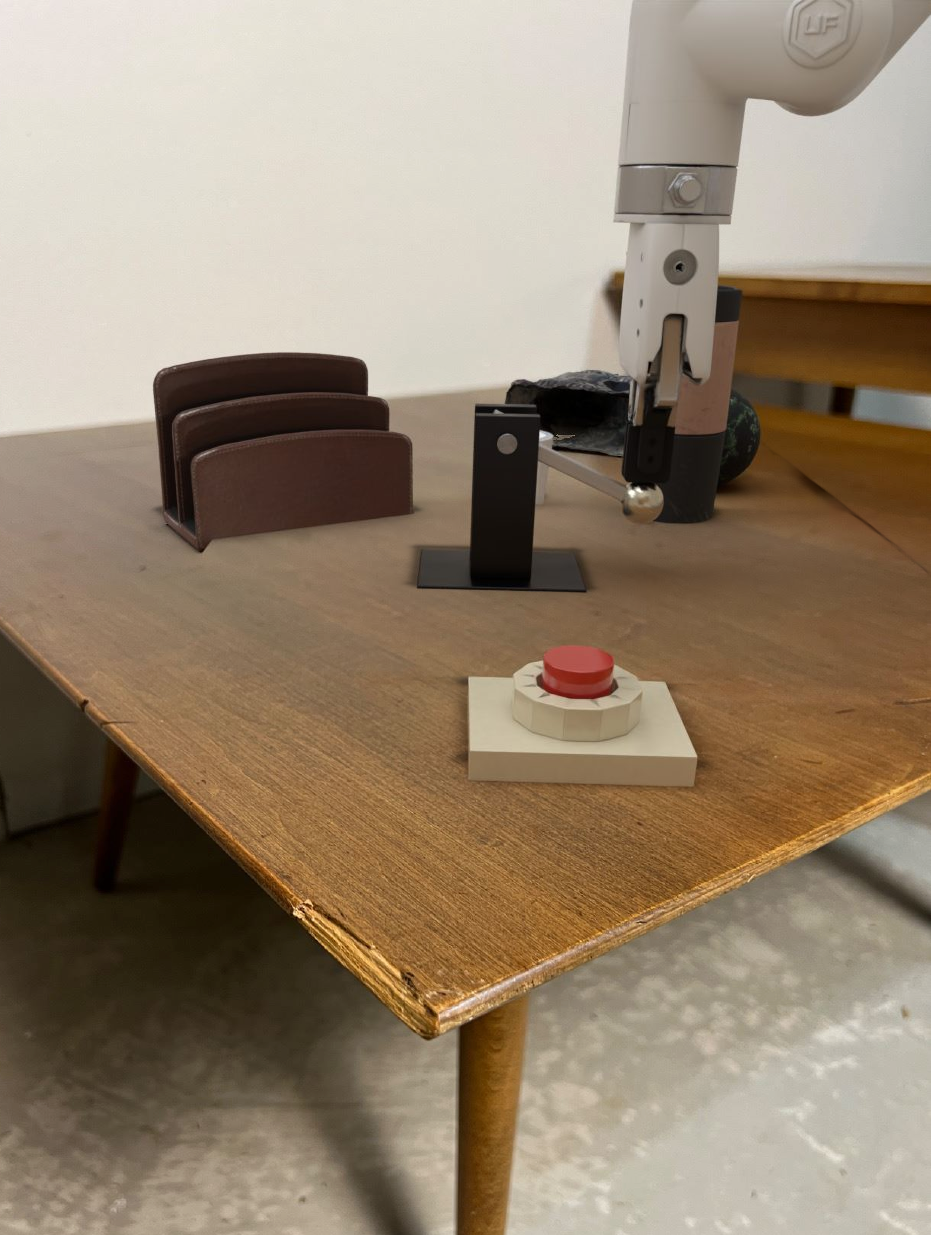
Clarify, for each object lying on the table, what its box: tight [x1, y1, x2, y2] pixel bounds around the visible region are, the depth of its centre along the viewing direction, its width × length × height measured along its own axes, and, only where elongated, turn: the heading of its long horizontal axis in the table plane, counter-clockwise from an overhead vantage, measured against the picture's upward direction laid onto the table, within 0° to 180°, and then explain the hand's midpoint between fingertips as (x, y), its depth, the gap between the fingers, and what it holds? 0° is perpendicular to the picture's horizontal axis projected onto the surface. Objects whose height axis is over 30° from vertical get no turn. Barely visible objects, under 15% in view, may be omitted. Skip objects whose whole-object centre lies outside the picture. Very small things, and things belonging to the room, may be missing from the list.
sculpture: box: [504, 369, 633, 457], centre depth 135 cm, size 8×16×30 cm
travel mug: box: [652, 284, 744, 525], centre depth 92 cm, size 8×8×20 cm
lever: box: [493, 410, 664, 525], centre depth 76 cm, size 14×3×3 cm, turn 88°
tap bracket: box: [416, 403, 587, 594], centre depth 78 cm, size 12×9×13 cm
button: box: [541, 644, 615, 699], centre depth 55 cm, size 4×4×2 cm
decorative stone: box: [717, 388, 762, 487], centre depth 108 cm, size 10×10×10 cm
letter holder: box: [152, 351, 415, 552], centre depth 91 cm, size 10×20×14 cm, turn 118°
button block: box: [466, 659, 699, 788], centre depth 56 cm, size 11×9×4 cm
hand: (644, 479), depth 77 cm, fingers closed
